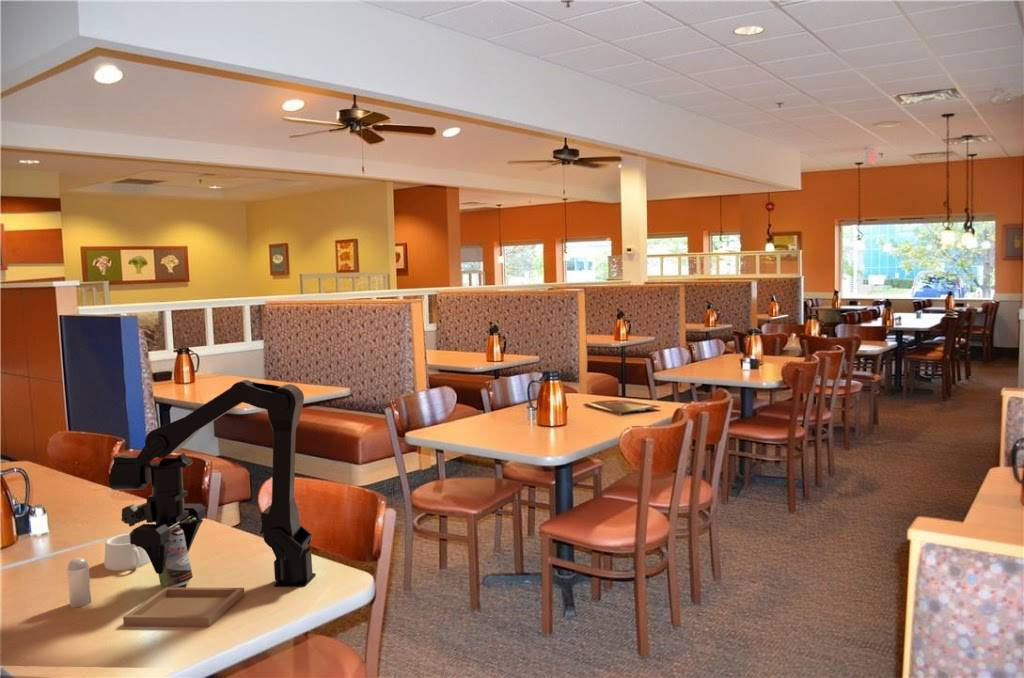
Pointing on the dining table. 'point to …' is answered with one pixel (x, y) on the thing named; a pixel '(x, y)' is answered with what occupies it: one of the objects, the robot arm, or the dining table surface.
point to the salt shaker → (79, 582)
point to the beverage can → (176, 561)
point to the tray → (184, 607)
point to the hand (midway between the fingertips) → (171, 565)
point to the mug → (124, 554)
